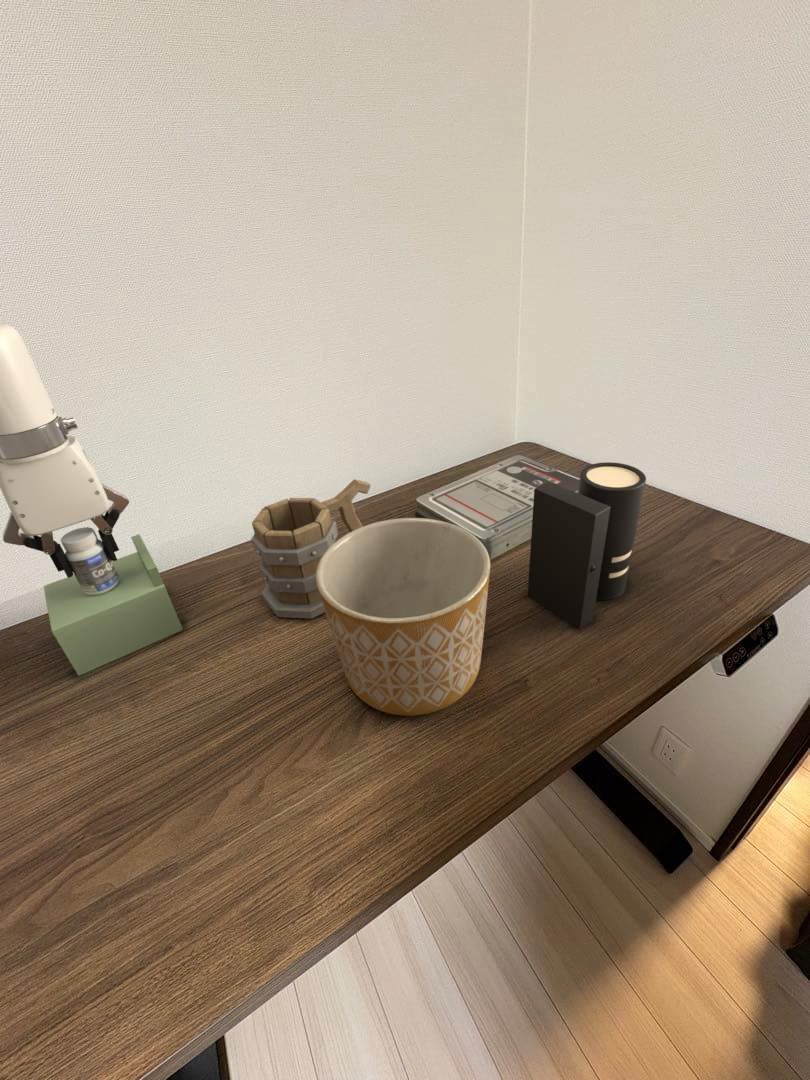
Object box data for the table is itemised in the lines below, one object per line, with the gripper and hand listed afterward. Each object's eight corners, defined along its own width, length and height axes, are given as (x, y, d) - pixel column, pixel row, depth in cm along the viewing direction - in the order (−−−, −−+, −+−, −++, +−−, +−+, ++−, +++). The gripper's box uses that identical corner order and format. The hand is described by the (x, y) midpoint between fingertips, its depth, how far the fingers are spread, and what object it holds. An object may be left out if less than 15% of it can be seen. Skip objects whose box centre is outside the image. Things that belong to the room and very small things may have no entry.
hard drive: (415, 520, 98) (413, 499, 95) (518, 473, 110) (519, 453, 108) (484, 563, 85) (484, 540, 82) (592, 505, 97) (595, 483, 95)
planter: (309, 665, 69) (283, 563, 60) (419, 597, 79) (411, 501, 70) (403, 762, 57) (388, 651, 47) (521, 667, 66) (527, 560, 57)
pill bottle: (106, 596, 71) (80, 545, 67) (76, 595, 72) (48, 544, 68) (127, 575, 75) (104, 525, 71) (98, 574, 76) (73, 524, 72)
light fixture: (641, 586, 77) (665, 477, 67) (581, 630, 71) (597, 516, 61) (586, 558, 84) (600, 454, 74) (526, 595, 78) (532, 487, 68)
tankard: (289, 631, 75) (265, 544, 67) (254, 589, 84) (229, 507, 76) (402, 574, 84) (394, 490, 76) (360, 541, 93) (348, 464, 85)
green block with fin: (78, 676, 71) (40, 613, 65) (68, 628, 80) (33, 568, 73) (183, 629, 77) (157, 568, 71) (162, 590, 86) (138, 532, 80)
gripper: (101, 411, 68) (150, 530, 78) (-57, 450, 61) (19, 576, 71) (111, 427, 63) (162, 552, 73) (-61, 471, 55) (22, 604, 65)
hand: (91, 563), depth 72 cm, fingers closed on pill bottle, 4 cm apart
